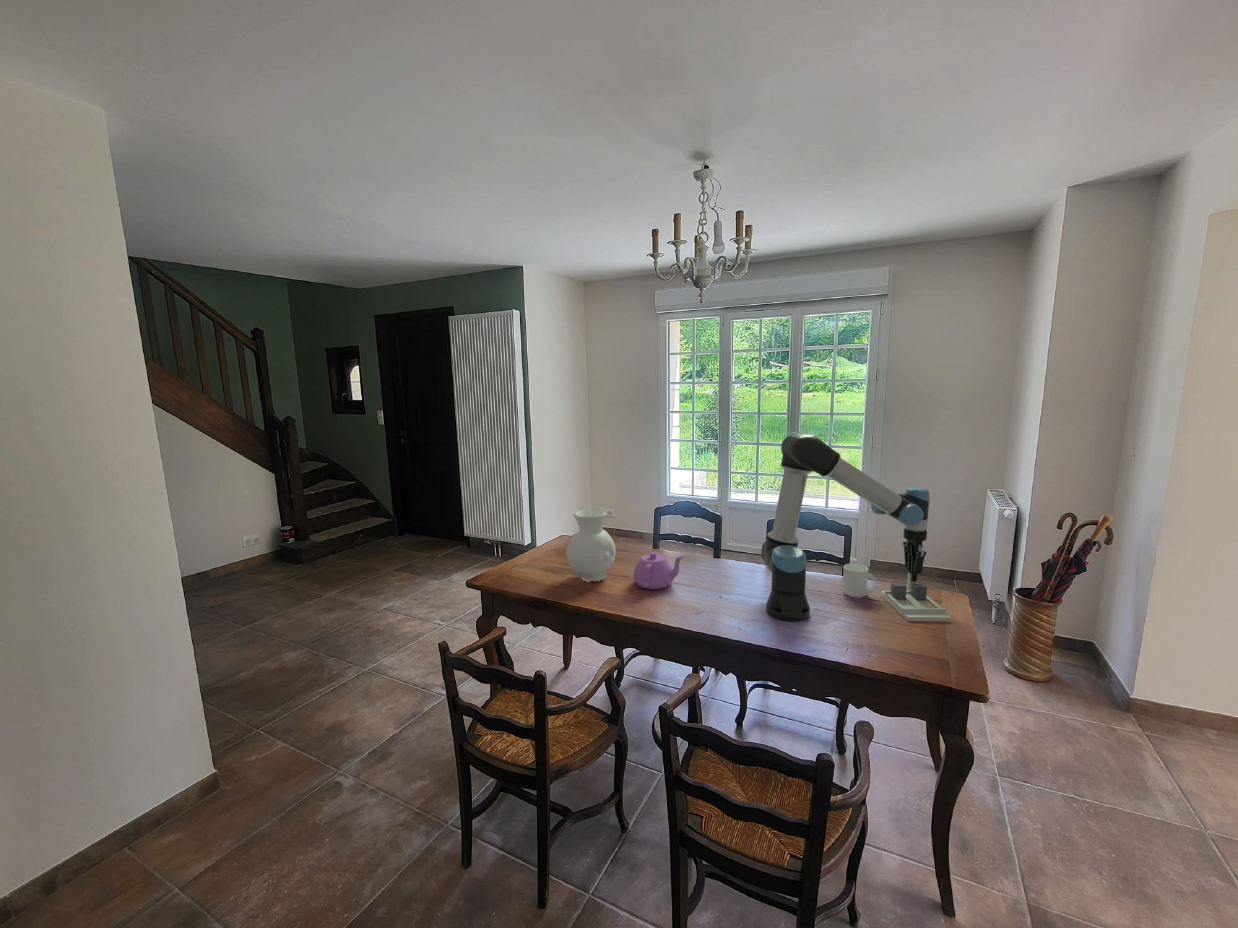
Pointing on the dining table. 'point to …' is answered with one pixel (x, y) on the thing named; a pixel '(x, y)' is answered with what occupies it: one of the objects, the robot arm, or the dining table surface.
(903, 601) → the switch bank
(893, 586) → the tab
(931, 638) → the dining table surface
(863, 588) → the mug
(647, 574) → the teapot
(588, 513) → the vase
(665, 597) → the dining table surface
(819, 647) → the dining table surface
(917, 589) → the tab
